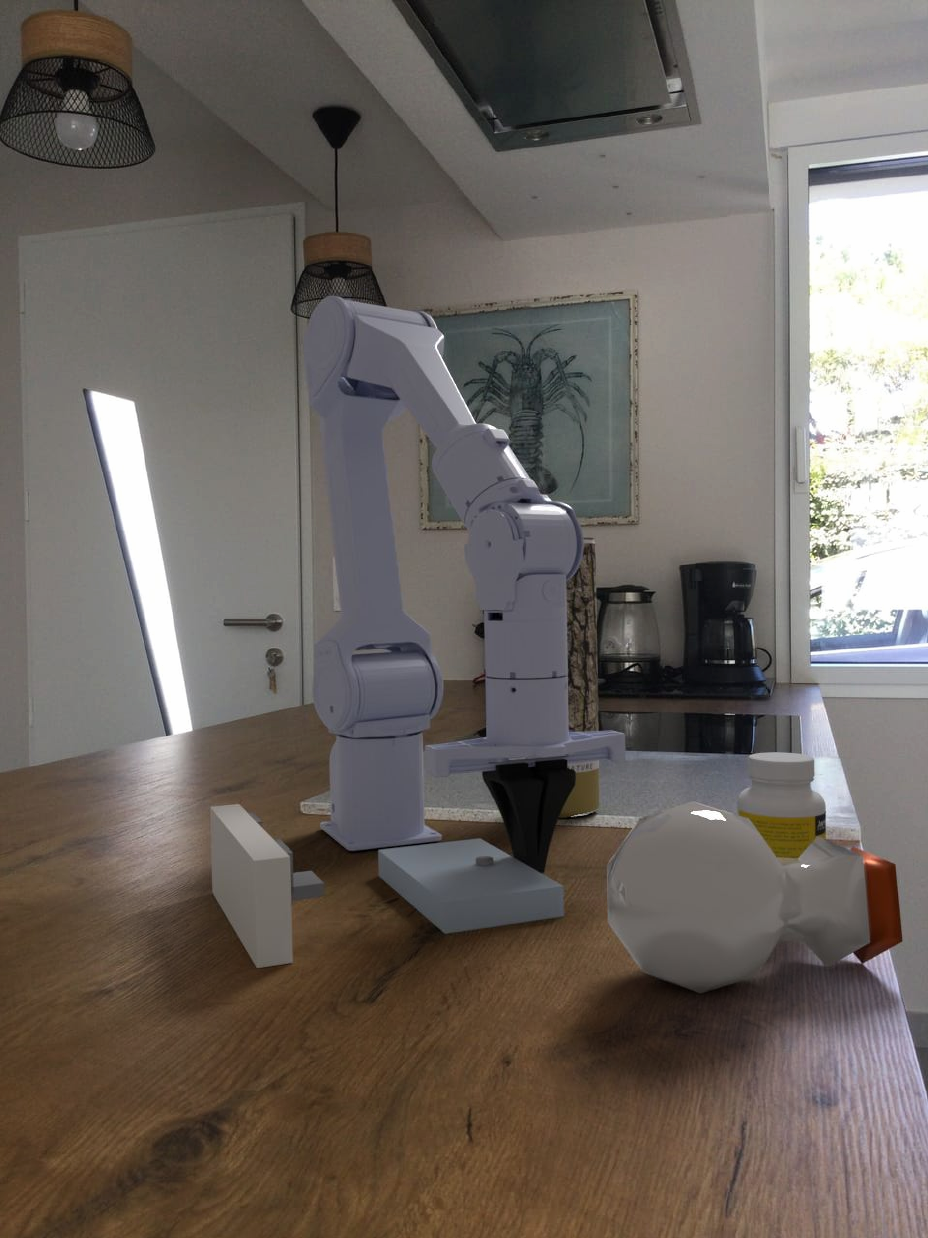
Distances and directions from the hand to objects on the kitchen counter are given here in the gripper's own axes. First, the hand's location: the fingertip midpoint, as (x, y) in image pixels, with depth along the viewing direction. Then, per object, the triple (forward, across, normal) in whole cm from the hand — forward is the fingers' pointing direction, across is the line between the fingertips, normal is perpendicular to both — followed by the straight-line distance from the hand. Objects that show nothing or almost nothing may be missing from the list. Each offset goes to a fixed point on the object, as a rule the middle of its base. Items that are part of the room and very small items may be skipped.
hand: (529, 870), depth 74 cm
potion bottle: (+1, +3, -20) cm, 20 cm away
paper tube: (+1, +13, +20) cm, 24 cm away
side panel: (+1, -18, 0) cm, 18 cm away
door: (+2, -5, 0) cm, 5 cm away
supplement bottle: (+1, +12, -12) cm, 17 cm away
